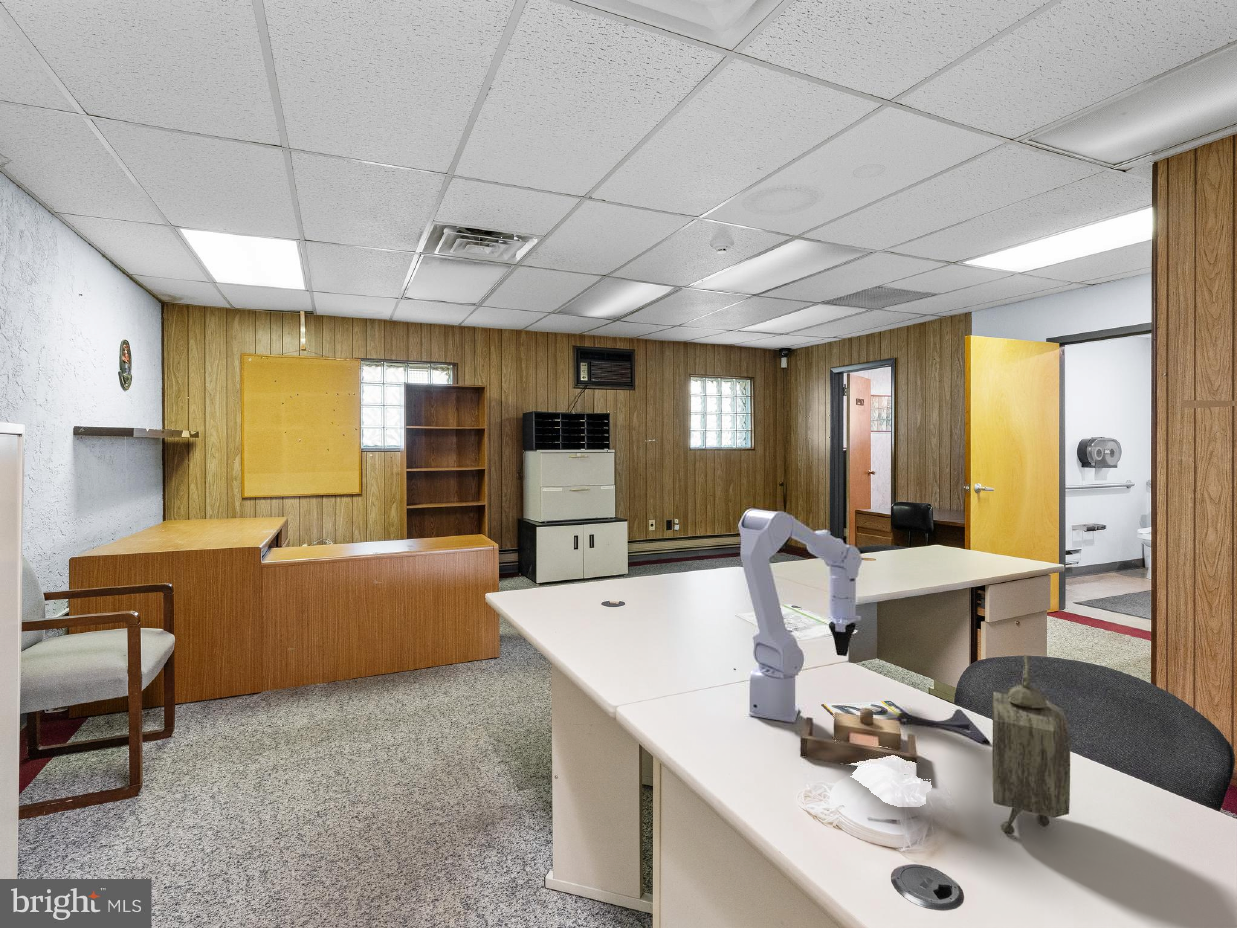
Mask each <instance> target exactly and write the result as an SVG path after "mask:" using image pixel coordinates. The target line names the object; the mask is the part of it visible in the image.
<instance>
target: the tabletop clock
mask: <svg viewBox="0 0 1237 928" xmlns="http://www.w3.org/2000/svg"><path fill="white" fill-rule="evenodd" d="M1022 658H1023V659H1022V661H1023V663H1022V667H1023V671H1022V677H1021V680H1022V681H1021V684H1019V685H1014V686H1013V687H1011V688H1010V689H1009V690H1008V691H1007V693H1002V692H996V691H993V692H992V750H991V751H992V753H991V754H992V755H991V756H992V767H991V769H992V771H991V772H992V773H991V774H992V801H993V804H995V805H999V806H1003V807H1008V808H1010V809H1011V811H1010V815H1009V818H1008V821H1004V822H1002V824H1001V825H1000V829H1001V831H1002V833H1004V834H1005V835H1009V836H1011V835H1013V833H1014V832H1015V828H1014V826H1013V824H1014V822H1015V820H1016V819H1017V817H1018V815H1019V814H1020V813H1021V812H1028V813H1032V814H1035V815H1036V821H1037V823H1038V824H1039V825H1040V826H1042V827H1048V826H1049V825H1050V819H1049V818H1052V819H1055V818H1059V817H1062V816H1066V815H1070V806H1071V805H1070V804H1071V801H1070V800H1071V796H1070V795H1071V737H1070V736H1071V734H1070V730H1069V726H1068V722H1067V719H1066V716H1065V713H1064V710H1063V709H1062V708H1060V707H1059V706H1058V705H1055V704H1053V703H1052V702H1050V701H1049V700H1046V698H1045V697H1044V696H1043V694H1042V693H1041V692H1040V691H1039V690H1038V689H1037V688H1035V687H1033V686H1032V687H1031V676H1030V675H1031V662H1030V658H1029V656H1028V655H1026V654H1025V655H1023V657H1022Z"/></svg>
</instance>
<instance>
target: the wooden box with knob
mask: <svg viewBox="0 0 1237 928" xmlns="http://www.w3.org/2000/svg"><path fill="white" fill-rule="evenodd" d="M901 730H902V729H901V724H900V722H899V721H897V720H891V719H886V718H878V717H874V710H873V709H872V708H867V707H862V708H860V709H859V715H858V714H851V713H850V714H849V713H843V712H838V711H837V712H836V711H835V712H834V716H833V740H836V741H841V742H842V741H843V742H847V743H850V732H855V733H862V734H869V735H875V736H878V744H879V746H882V747H888V748H891V749H890V750H892V749H894V750H893V751H898V750H901V751H902V731H901Z"/></svg>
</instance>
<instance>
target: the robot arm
mask: <svg viewBox="0 0 1237 928" xmlns="http://www.w3.org/2000/svg"><path fill="white" fill-rule="evenodd" d="M739 520H740V521H739V522H738V525H737V526H738V531H739V535H740V560H741V565H742V567H743V572H744V576H745V580H746V583H747V588H748V592H749V595H750V599H751V603H752V606H753V611H754V615H755V619H756V622H757V626H758V630H757V631H756V633H754V634H753V636H752V640H753V648H752V649H753V652H752V655H753V659H754V660H755V662H756V663H757V664H758V668H752V670H751V672H750V677H749V712H748V715H749V716H751V717H757V718H764V719H769V720H775V721H782V722H787V723H792V724H793V723H795V722H796V720H797V717H798V713H799V711H800V707H799V706H798V705H796V676H798V675H799V673H800V672H801V671H802V668H803V667H804V662H805V656H804V652H803V650H802V649H801V647H800V646H799V645H798V641H797V638H796V637H795V635H793V634H792V633H791V631H790V630H788V628H787V627H786V625H785V620H784V616H783V611H782V608H781V603H780V600H779V595H778V592H777V591H778V590H777V588H776V587H777V586H776V583H775V579H774V575H773V571H772V567H771V562H770V558H772V556H774V555H775V554H776V553H777V552H779V550H780V548H781V547H783V545H784V544H785V543H786V541H788V539H789V538H790V539H791V538H792V539H794V540H796V541H798V542H800V543H802V544H804V545H806V549H807V551H808V553H810V554H811V555H813V556H815V557H816V558H819V559H820V560H823V562H824V564H825V566H827V567H829V589H828V590H829V599H828V600H829V601H828V602H829V603H828V605H829V606H828V607H829V609H828V610H829V611H828V612H829V613H828V615H827V616H828V619H829V620H830V622H829V624H828V628H829V630H830V632H831V634H832V637H833V641H834V646H835V647H834V648H835V652H836V655H837V656H843V657H847V655H848V653H849V647H850V642H851V639H852V635H853V634H854V633H855V630H856V626H857V625H856V623H855V622H856V621H858V622H860V621H861V620H862V616H861V615H856V605H857V602H856V599H857V597H856V596H857V595H856V594H857V591H856V589H857V588H856V587H857V585H856V584H857V578H858V576H859V569H860V567H861V566H862V561H863V557H862V556H861V552H860V550H859V549H858V548H857V547H856V546H855V545H849V544H846V543H845V542H844V540H843V539H841V538H836V537H834V536H833V535H831V531H830V530H828V529H822V530H816V531H814V530H812V529H811V528H809V527H808V526H807V525H805V524H803V523H802V522H801V521H799V520H798V519H796V518H795V516H794V515H791V514H788V513H787V512H785V511H771V510H764V509H757V508H749V509H747V510H745V512H744V513H743V514H742V516H741V519H739Z"/></svg>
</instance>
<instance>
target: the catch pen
mask: <svg viewBox="0 0 1237 928" xmlns="http://www.w3.org/2000/svg"><path fill="white" fill-rule="evenodd" d="M813 720H814V718H813V717H809V716H806V718H805V722H804V724H803V728H802V732H801V734H800V740H799V741H800V748H799V749H800V750H799V751H800V757H802V756H804V757H803V758H808V759H813V758H815V759H814V760H818V759H822V760H821V761H824V760H825V762H829V761H830V763H836V764H840V763H843V764H842V765H845V764H851V763H857V762H859V761H866V760H869V759H878V758H883V757H886V756H891V755H895V756H898V757H900V758H902V759H904V760H906V761H912V762H915V763H917V764H918V754H917V745H916V735H915V734H913V733H907V742H906V743H907V747H906V749H907V752H903V751H898V750H892V749H885V748H876V747H870V746H864V745H858V744H853V743H848V742H842V741H835V740H834V739H829V738H822V737H819V736H814V735H813V731H814V728H813V727H814V724H813V723H814V721H813Z"/></svg>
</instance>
